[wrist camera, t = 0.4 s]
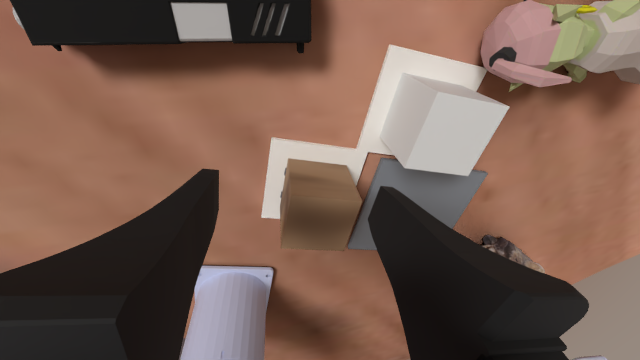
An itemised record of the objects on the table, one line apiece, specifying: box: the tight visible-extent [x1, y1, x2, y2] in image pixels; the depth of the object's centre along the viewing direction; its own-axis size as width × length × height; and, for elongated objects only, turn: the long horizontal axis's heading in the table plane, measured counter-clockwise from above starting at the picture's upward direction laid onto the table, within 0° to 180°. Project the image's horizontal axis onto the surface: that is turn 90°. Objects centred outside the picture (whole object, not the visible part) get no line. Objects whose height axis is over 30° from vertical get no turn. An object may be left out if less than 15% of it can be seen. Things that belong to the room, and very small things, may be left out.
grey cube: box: [380, 73, 510, 176], centre depth 19 cm, size 5×5×5 cm
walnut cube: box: [280, 158, 362, 251], centre depth 21 cm, size 5×5×5 cm
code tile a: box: [261, 137, 368, 219], centre depth 23 cm, size 8×8×1 cm
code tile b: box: [356, 44, 487, 155], centre depth 21 cm, size 8×8×1 cm
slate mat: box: [348, 158, 488, 250], centre depth 27 cm, size 11×11×1 cm
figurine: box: [480, 0, 640, 92], centre depth 17 cm, size 9×7×15 cm
